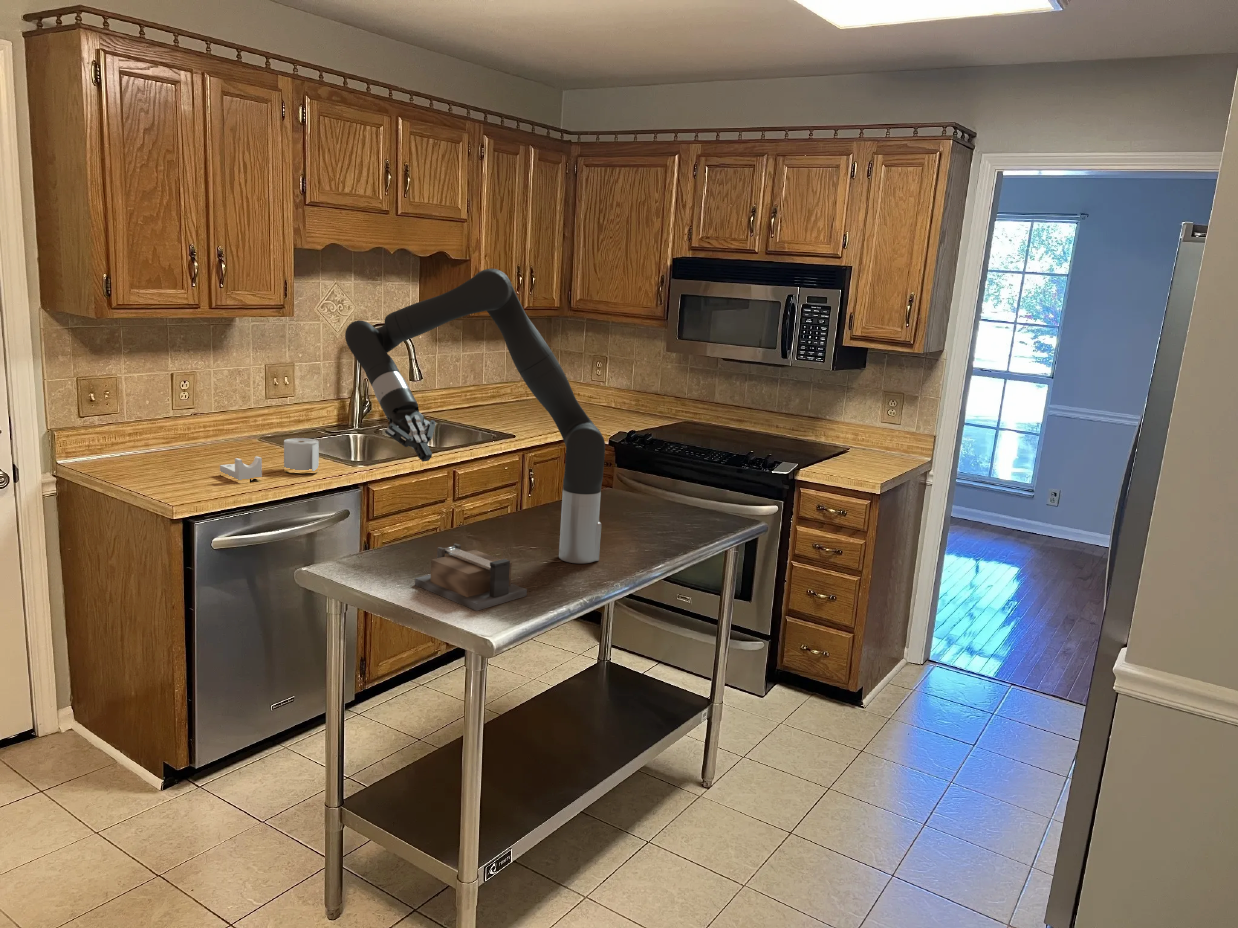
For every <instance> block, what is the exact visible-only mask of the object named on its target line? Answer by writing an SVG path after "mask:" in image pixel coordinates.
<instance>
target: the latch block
mask: <svg viewBox="0 0 1238 928" xmlns="http://www.w3.org/2000/svg"><path fill="white" fill-rule="evenodd" d="M452 546H455V547H456V548H458V549H460V550H462V549H461V548H462V545H461V544H459V543H453V544H452ZM445 548H446V547H442V546H439V547H437V549H436V557H435V558H434V559H433V558H432V559H431V560H430V574H427V575H423V576H419V577H415V578H414V585H415V586H416V587H419V588H422V589H424V590H426V591H428V592H431V593H434V594H435V595H438V596H440V597H443V598H445V599H448V600H450V601H452V602H455V603H457V604H459V605H462V606H464V607H465V608H468V609H471V610H473V611H476V612H477V611H481V610H484V609H487V608H491V607H494V606H497V605H501V604H504V603H507V602H512V601H514V600H517V599H521V598H525V597H527V593H528V592H527V591H528V589H527V588H524V587H522V586H519V585H516V584H514V583H512V581H511V580H512V579H511V578H512V565H513V564H512V563H513V562H511V560H509V559H506V558H499V557H496V556H493V555H490V554H488V553H486V552H482V551H479V550H476V549H472V550H467V551H466V552H468V553H471V554H473V555H476V556H479V557H481V558H484V559H487V560H489V561H492V562H490V566H491V570H488V569H485V568H482V567H480V566H477V565H475V564H472V563H470V562H467V561H464V560H462V559H459V558H457V557H454V556H452V555H449V554H448V555H445V554H446V553H445Z"/></svg>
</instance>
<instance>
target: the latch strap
mask: <svg viewBox="0 0 1238 928" xmlns="http://www.w3.org/2000/svg"><path fill="white" fill-rule="evenodd" d="M444 548H445V554H446V555H448V556H449V555H452V556H454V557H457V558H459V559H462V560H464V561H467V562H470V563H472V564H475V565H477V566H480V567H482V568H485V569H488V570H491V566H490V562H492V561H489V560H487V559H484V558H481V557H479V556H476V555H473V554H471V553H468V552H467V551H465V550H462V549H461V550H460V549H458V548H456V547H455V546H453V545H452V546H448V547H444Z"/></svg>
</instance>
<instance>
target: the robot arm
mask: <svg viewBox="0 0 1238 928" xmlns="http://www.w3.org/2000/svg"><path fill="white" fill-rule="evenodd" d="M482 312H487V313H488V315H489V316H490V318H491V319H492V320H493V322H494V323H495V324H496V327H497V328H498V330H499V331H500V333H501V335H502V337H503V339H504V343H505V345H506V347H507V350H508V353H509V355H510V357H511V360H512V362H513V364H514V366H515V369H516V370H517V372H518V373H519V375H520V377H521V378H522V379H523V382H524V383H525V385H526V386H527V388H528V390H529V391H530V392H531V393H532V395H533V396H534V397H535V399H536V400H537V401H538V402H539V403H540V404H541V405H542V407H543V408H544V409H545V410H546V411H547V413H548V414H549V416H550V417H551V418H552V420H553V422H554V423H555V426H556V427H557V429H558V432H559V434H560V436H561V438H562V439H563V442H564V445H565V460H564V462H565V463H564V475H563V479H562V480H563V482H562V494H561V495H562V496H561V497H562V499H561V500H562V501H561V517H560V531H559V534H560V535H559V544H558V545H559V546H558V558H559V559H560V560H561V561H564V562H566V563H570V564H571V563H572V564H590V563H593V562H598V561H599V560H600V550H601V549H600V547H601V536H602V534H601V533H602V523H601V521H600V508H601V496H602V492H601V491H602V485H603V480H604V470H605V469H604V468H605V459H606V458H605V457H606V456H605V455H606V442H605V438H604V436H603V433H602V431H600V429H599V428H598V427H597V426H596V425H595V424H594V422H593V420H591V419H590V417H589V416H588V415H587V412H585V410H584V409H583V407H582V406H581V405H580V403H579V401H578V400H577V398H576V396H575V394H574V391H573V389H572V387H571V384H570V382H569V380H568V378H567V376H566V373H565V372H564V370H563V368H562V366H561V365H560V363H559V360H558V359H557V357H556V356H555V354H554V352H553V351H552V349H551V348H550V346H549V345H548V343H547V342H546V341H545V339H544V337H543V336H542V334H541V333H540V331H539V330H538V329H537V328H536V326H535V324H534V323H533V322H532V321H531V319H530V318H529V316H528V315H527V313H526V311H525V309H524V307H523V305H522V304H521V302H520V300H519V297H518V295H517V293H516V290H515V289H514V286H513V283H512V281H511V280H510V278H509V277H508V275H507V274H506V273H505V272H503V271H502V270H499V269H497V268H486V269H482V270H479V271H478V272H477V273H476V274H475V275H474V276H472V277H471V278H470V279H468V280H466V281H465V282H463V283H462V284H460V285H458V286H457V287H455V288H453V289H450V290H448V291H447V292H444V293H441V294H440V295H437V296H434V297H430V298H428V299H424V300H421V301H417V302H415V303H412V304H409V305H407V306H404V307H402V308H400V309H396V311H393V312H391V313H389V314H386V316H385V318H384V324H383V325H382V326H380V327H378V328H375V327H374V326H373V325H372V324H371V323H369V322H368V321H365V320H360V319H359V320H354V321H352V322H351V323H349V324H348V326H347V327H346V328H345V334H344V339H345V343H346V344H347V347H348V349H349V350H350V352H351V353H352V355H353V357H355V360H356V361H357V362H358V363H359V365H360V366H361V368H362V369H363V371H364V373H365V375H366V378H367V380H368V382H369V384H370V385H371V388H372V389H373V392H374V395H375V398H376V399H377V402H378V404H379V405H380V407H381V409H382V412H383V414H384V416H385V417H386V419H387V421H388V422H389V425H388V426H387V427H386V429H384V433H385V434H386V435H387V436H389V437H391V438H392V439H393V440H395V441H396V442H397V443H399V444H400V445H402V446H403V447H405V448H408V447H411V449H413V450H414V452H415V453H416V456H417V457H418V459H419V460H421V462H428V461H430V459H432V457H433V456H432V455H433V452H432V451H431V449H430V447H429V445H428V444H429V443H430V441H432V439H433V436H434V432H435V427H436V421H435V420H433V419H432V420H430V421H429V420H427V419H425V416H424V415H423V414H422V413H421V412H420V411H419V410H420V409H419V404H418V402H417V399H416V398H415V396H414V394H413V392H412V390H411V389H410V386H409V385H408V382H407V380H405V378H404V377H403V375H402V374H401V372H400V370H399V368H398V366H397V365H396V363H395V361H394V360H393V358H392V357H391V356H390V355H389V354H388V353H389V352H390V351H392V350H393V349H395V348H396V347H398V346H399V345H400V344H401V343H403V342H405V341H409V340H411V339H413V338H416V337H418V336H421V335H423V334H426V333H428V332H430V331H431V330H434V329H437V328H439V327H441V326H443V325H444V324H447V323H449V322H451V321H453V320H457V319H459V318H462V317H466V316H469V315H472V314H477V313H482Z"/></svg>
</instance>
